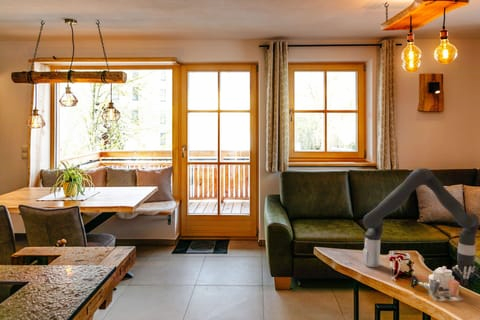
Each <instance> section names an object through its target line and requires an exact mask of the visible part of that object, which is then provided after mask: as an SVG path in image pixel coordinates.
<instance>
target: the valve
mask: <svg viewBox="0 0 480 320" xmlns="http://www.w3.org/2000/svg"><path fill="white" fill-rule="evenodd" d="M418 285H419V286H421V287H423V288H425V289H426V290H427V292H428V294H429V293H431V290H430V280H429V279H428V282H426V281H425V282H422V281H419V279H418V275H412V277H411V281H410V287H411V288H416V287H417V286H418Z"/></svg>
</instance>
